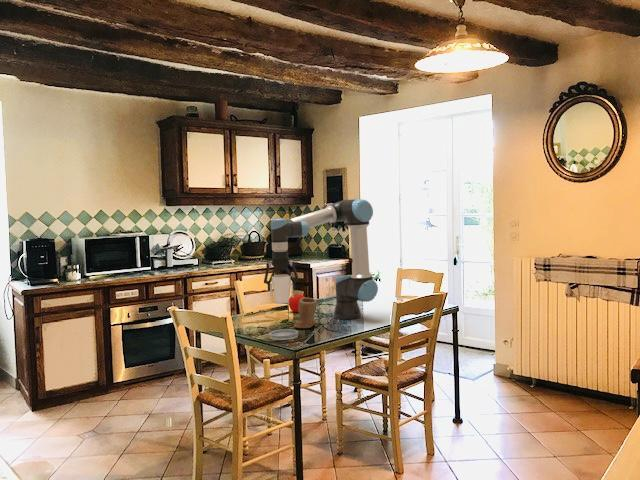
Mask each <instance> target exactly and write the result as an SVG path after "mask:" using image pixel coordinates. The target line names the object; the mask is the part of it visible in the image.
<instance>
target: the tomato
mask: <svg viewBox="0 0 640 480" xmlns="http://www.w3.org/2000/svg"><path fill="white" fill-rule="evenodd" d="M301 298H306V297H305V296H304V295H303V294H301V293H299V294H298V293H294V297H292V295H291V296H289V303H288V307H289V309H290V310H291V312H293V313H299V312H298V304H299V300H300V299H301Z"/></svg>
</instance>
